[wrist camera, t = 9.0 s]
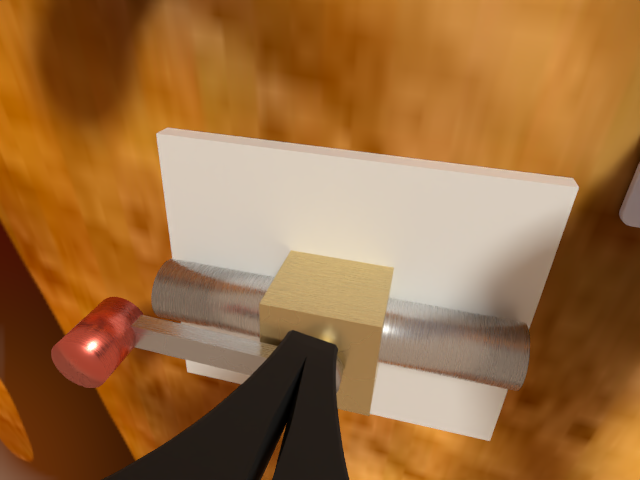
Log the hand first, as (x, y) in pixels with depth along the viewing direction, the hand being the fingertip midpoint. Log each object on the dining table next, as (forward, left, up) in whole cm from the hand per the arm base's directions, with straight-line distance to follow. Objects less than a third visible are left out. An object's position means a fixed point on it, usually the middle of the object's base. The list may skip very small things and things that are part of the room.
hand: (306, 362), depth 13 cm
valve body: (+1, +5, -9) cm, 11 cm away
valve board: (+1, +5, -10) cm, 11 cm away
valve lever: (+5, +5, -5) cm, 9 cm away
